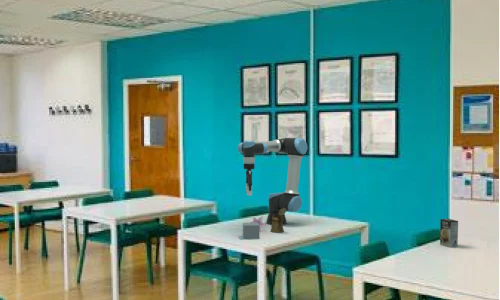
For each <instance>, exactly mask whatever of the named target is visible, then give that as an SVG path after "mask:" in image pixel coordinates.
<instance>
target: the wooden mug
mask: <svg viewBox="0 0 500 300" xmlns="http://www.w3.org/2000/svg"><path fill="white" fill-rule="evenodd" d="M286 213H287V211H286V208H282V209H280V210H279V212H278V214H279V215H273V218H272V225H271V227H270V232H271V233H279V234H280V233H284V232H285V231H284V230H285V229H284V225H283V215H284V214H286Z"/></svg>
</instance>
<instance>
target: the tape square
mask: <svg viewBox="0 0 500 300" xmlns="http://www.w3.org/2000/svg"><path fill="white" fill-rule="evenodd" d="M237 237H238V239H239V240H245V239H244V238H243V234H242V235H241V234H240V235H238V236H237ZM256 240H259V239H258V238H257V239H256Z"/></svg>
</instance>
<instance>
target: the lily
mask: <svg viewBox="0 0 500 300" xmlns="http://www.w3.org/2000/svg"><path fill="white" fill-rule="evenodd" d="M263 218H264V216H260V217H258V218H256V217H252V219H253V220H252V221H249V222H248V223H258V224H259V225H260V233H261V232H262V227H264V226H266V224H267V223H264V222H263V220H264V219H263Z"/></svg>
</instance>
